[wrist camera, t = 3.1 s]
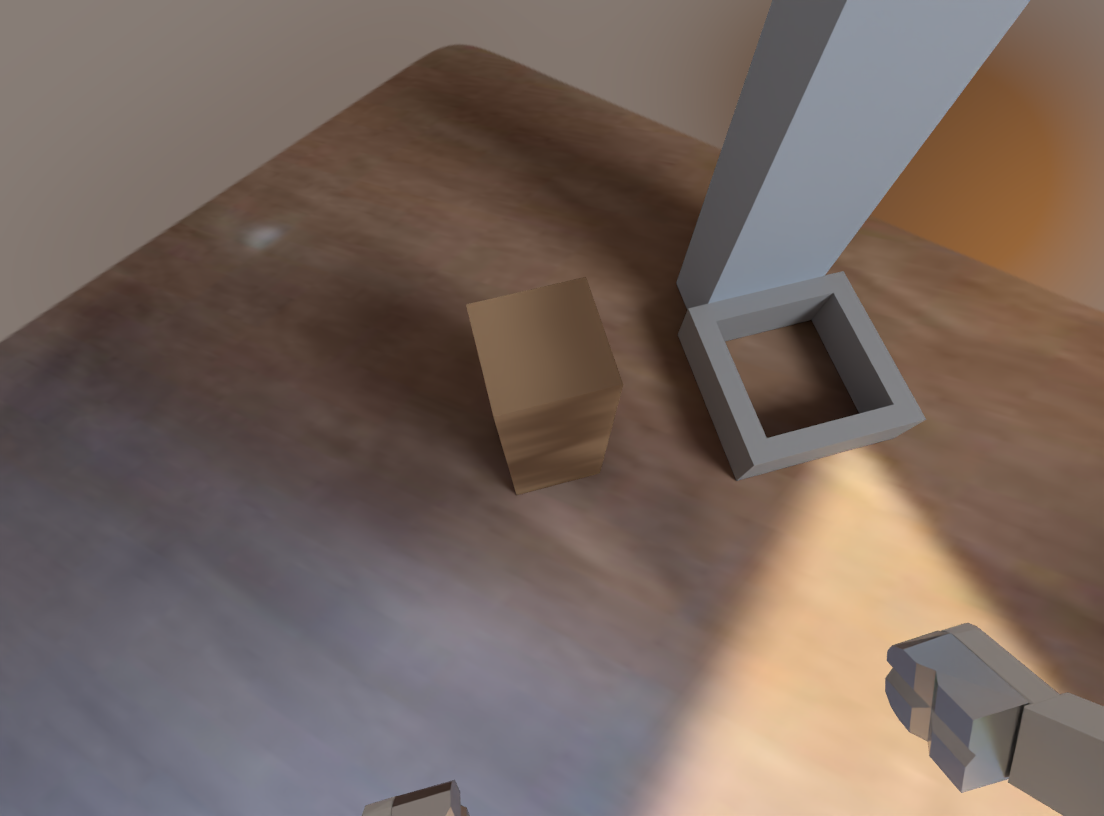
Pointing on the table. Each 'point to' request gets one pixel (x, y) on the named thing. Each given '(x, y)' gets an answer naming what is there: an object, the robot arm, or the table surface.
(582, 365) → the wooden square post
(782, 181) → the grey tower with tray
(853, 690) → the table surface
